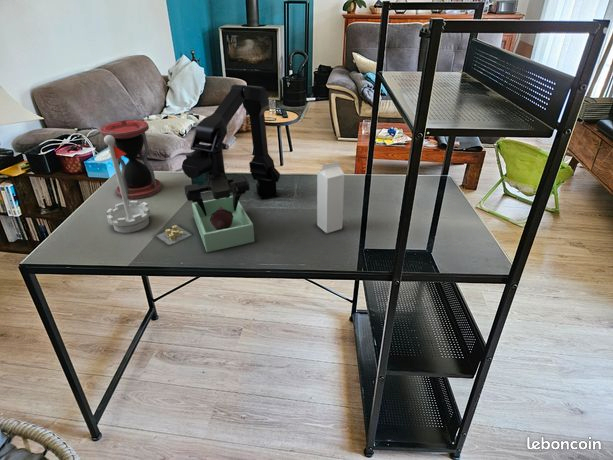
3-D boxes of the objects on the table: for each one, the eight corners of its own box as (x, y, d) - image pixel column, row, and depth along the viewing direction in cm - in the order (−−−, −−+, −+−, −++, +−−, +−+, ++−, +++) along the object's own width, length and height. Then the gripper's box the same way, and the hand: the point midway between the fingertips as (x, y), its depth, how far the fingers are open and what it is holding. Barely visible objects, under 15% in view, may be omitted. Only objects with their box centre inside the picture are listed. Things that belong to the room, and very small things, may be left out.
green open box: (237, 211, 142) (235, 195, 139) (254, 241, 125) (253, 224, 121) (194, 219, 137) (191, 203, 134) (206, 252, 120) (203, 234, 117)
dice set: (171, 241, 125) (170, 236, 124) (162, 235, 128) (161, 230, 127) (185, 235, 128) (184, 229, 127) (176, 229, 131) (175, 224, 130)
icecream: (205, 201, 133) (206, 228, 121) (227, 194, 133) (230, 220, 121) (214, 218, 137) (215, 245, 125) (234, 211, 137) (238, 237, 125)
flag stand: (101, 230, 131) (73, 139, 116) (129, 212, 142) (106, 126, 127) (134, 237, 128) (109, 144, 112) (160, 218, 138) (141, 130, 123)
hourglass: (169, 183, 163) (156, 120, 150) (146, 201, 149) (130, 134, 136) (133, 179, 166) (117, 118, 153) (108, 197, 152) (89, 131, 140)
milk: (342, 229, 131) (345, 164, 119) (326, 233, 128) (327, 168, 117) (332, 220, 135) (334, 157, 124) (316, 225, 133) (317, 161, 121)
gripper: (185, 181, 110) (194, 231, 118) (252, 170, 116) (256, 218, 124) (180, 167, 119) (188, 214, 127) (242, 157, 125) (246, 203, 133)
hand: (220, 212), depth 127 cm, fingers open, 9 cm apart
